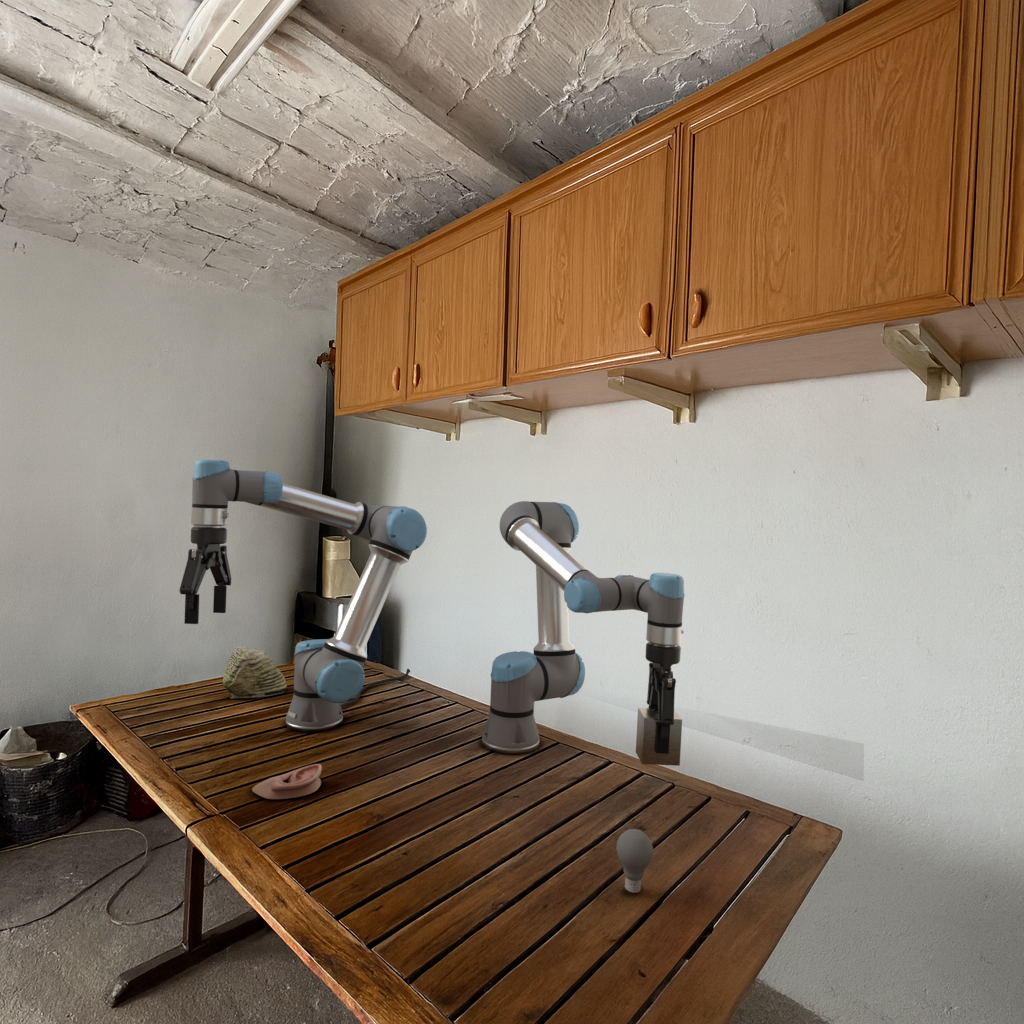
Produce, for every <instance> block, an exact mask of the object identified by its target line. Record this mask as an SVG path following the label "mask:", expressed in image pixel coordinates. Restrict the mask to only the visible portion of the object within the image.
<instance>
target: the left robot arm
mask: <svg viewBox="0 0 1024 1024" xmlns="http://www.w3.org/2000/svg"><path fill="white" fill-rule="evenodd" d="M191 480H192V484H191V485H192V487H191V488H192V489H191V490H192V491H191V515H190V516H191V518H190V524H191V525H192V527H191V528H190V542H191V544H193V545H196V548H189V549H188V553H187V561H186V564H185V568H184V572H183V576H182V579H181V583H180V587H179V593H180V595H185V598H184V601H185V602H184V624H185V625H198V624H199V620H200V619H199V616H200V593H198V592H199V590H200V587H201V584H202V583H203V580H204V577H205V574H206V573H207V571H208V570H210V573H211V574H212V578H213V580H214V582H215V585H213V605H212V606H213V607H212V613H213V614H225V613H227V589H228V586H231V585H232V574H231V568H230V563H229V560H228V548H227V547H228V546H227V545H224V544H226V543H227V541H228V529H227V528H226V527H225V526H227V525H228V517H229V516H230V514H229V512H228V508H229V502H234V503H235V502H242V503H243V502H244V503H248V504H251V505H255V506H259V507H261V508H266V509H269V510H272V511H273V510H274V511H277V512H281V513H285V514H287V515H293V516H295V517H299V518H303V519H305V520H306V519H307V520H310V521H313V522H314V521H315V522H317V523H321V524H325V525H328V526H333V527H335V528H339V529H342V530H346V531H347V533H348V534H349V535H351V536H355V537H358V538H361V539H364V540H366V541H369V543H368V548H369V550H370V554H369V557H368V559H367V561H366V564H365V567H364V568H363V570H362V573H361V575H360V577H359V580H358V581H357V584H356V586H355V588H354V591H353V593H352V594H351V598H350V600H349V602H348V604H347V607H346V609H345V611H344V613H343V616H342V618H341V620H340V623H339V624H338V627H337V630H336V631H335V634H334V635H333V637H330V638H323V639H322V638H320V639H307V640H303V641H299V642H297V644H296V645H295V650H294V651H295V652H294V653H293V654H294V655H293V656H294V672H293V673H294V674H293V695H292V696H293V697H292V699H291V702H290V704H289V708H288V711H287V713H286V715H285V726H286V728H287V729H289V730H291V731H294V732H295V731H296V732H301V733H316V732H325V731H329V730H332V729H335V728H337V727H339V726H340V725H342V723H343V722H344V714H343V709H342V708H345V707H347V706H351V705H352V704H354V703H356V702H357V701H358V700H359V699H360V697H361V693H363V691H365V690H366V689H368V688H371V687H374V686H377V685H381V684H385V683H389V682H393V681H400V680H403V679H406V678H407V677H408V676H409V674H410V673H411V670H410V669H409V668H406V672H405V674H404V675H401V676H396V677H390V678H386V679H381V680H378V681H374V682H371V683H368V684H366V685H364V684H365V680H366V675H365V670H364V666H365V664H366V661H367V659H368V654H367V652H366V646H367V644H368V641H370V640H369V639H370V638H371V635H372V632H373V630H374V628H375V625H376V623H377V621H378V619H379V616H380V614H381V612H382V610H383V608H384V605H385V602H386V600H387V598H388V595H389V593H390V590H391V588H392V586H393V583H394V581H395V579H396V577H397V575H398V572H399V570H400V567H401V566H402V565H404V564H406V563H408V562H409V561H410V559H411V556H412V553H413V551H416V550H417V549H420V548H421V546H423V544H424V542H425V541H426V538H427V535H428V528H427V527H428V526H427V524H426V521H425V519H424V517H423V515H422V514H421V513H420V512H419V511H418V510H416V509H414V508H411V507H407V506H404V505H403V506H401V505H399V506H394V505H378V504H377V505H376V504H369V503H365V502H362V501H357V502H355V503H352V502H349V501H345V500H342V499H339V498H336V497H332V496H328V495H325V494H322V493H318V492H315V491H311V490H309V489H306V488H302V487H298V486H294V485H291V484H288V483H285V482H283V478H282V476H281V474H280V473H278V472H274V471H273V472H272V471H267V470H264V471H262V470H243V469H242V470H240V469H239V470H238V469H233V468H231V467H230V463H229V461H228V460H223V459H222V460H219V459H209V458H207V459H205V458H200V459H196V461H195V462H194V463H193V473H192V479H191Z"/></svg>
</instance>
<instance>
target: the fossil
mask: <svg viewBox="0 0 1024 1024" xmlns="http://www.w3.org/2000/svg"><path fill="white" fill-rule="evenodd" d="M222 676H223V677H222V685H223V687H224V688H225V690H226V691H228V693H229V698H230V699H250V698H264V697H271V696H275V695H281V694H284V693H285V691H286V689H287V687H288V686H287V680H286V678H285V676H284V674H283V673H282V672H281V669H279V668H278V667H277V665H276V663H275V662H274V660H273V659H272V658H271V657H270V656H269V655H268V654H267V653H266V652H265V650H264V649H263V648H260V647H258V648H251V647H247V646H246V647H245V646H238V647H237V648H236V649H235V650H233V651H232V653H231V656H230V657H229V659H228V660H227V663H226V666H225V668H224V671H223V675H222Z"/></svg>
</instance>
